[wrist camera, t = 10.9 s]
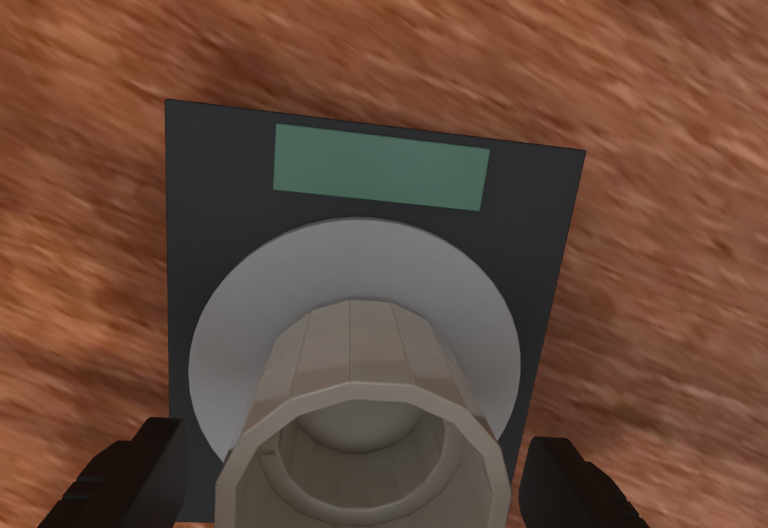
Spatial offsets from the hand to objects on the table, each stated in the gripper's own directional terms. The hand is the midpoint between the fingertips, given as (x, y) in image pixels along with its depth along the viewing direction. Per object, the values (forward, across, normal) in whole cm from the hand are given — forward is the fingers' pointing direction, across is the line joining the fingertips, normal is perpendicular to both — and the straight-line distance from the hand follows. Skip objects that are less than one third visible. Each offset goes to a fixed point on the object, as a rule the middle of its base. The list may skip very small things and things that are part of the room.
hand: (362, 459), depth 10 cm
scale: (+7, 0, -1) cm, 7 cm away
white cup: (+4, 0, 0) cm, 4 cm away
